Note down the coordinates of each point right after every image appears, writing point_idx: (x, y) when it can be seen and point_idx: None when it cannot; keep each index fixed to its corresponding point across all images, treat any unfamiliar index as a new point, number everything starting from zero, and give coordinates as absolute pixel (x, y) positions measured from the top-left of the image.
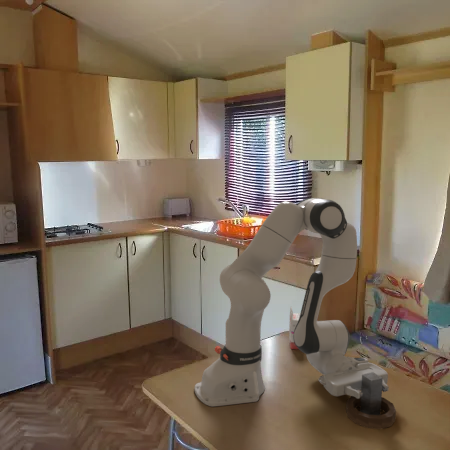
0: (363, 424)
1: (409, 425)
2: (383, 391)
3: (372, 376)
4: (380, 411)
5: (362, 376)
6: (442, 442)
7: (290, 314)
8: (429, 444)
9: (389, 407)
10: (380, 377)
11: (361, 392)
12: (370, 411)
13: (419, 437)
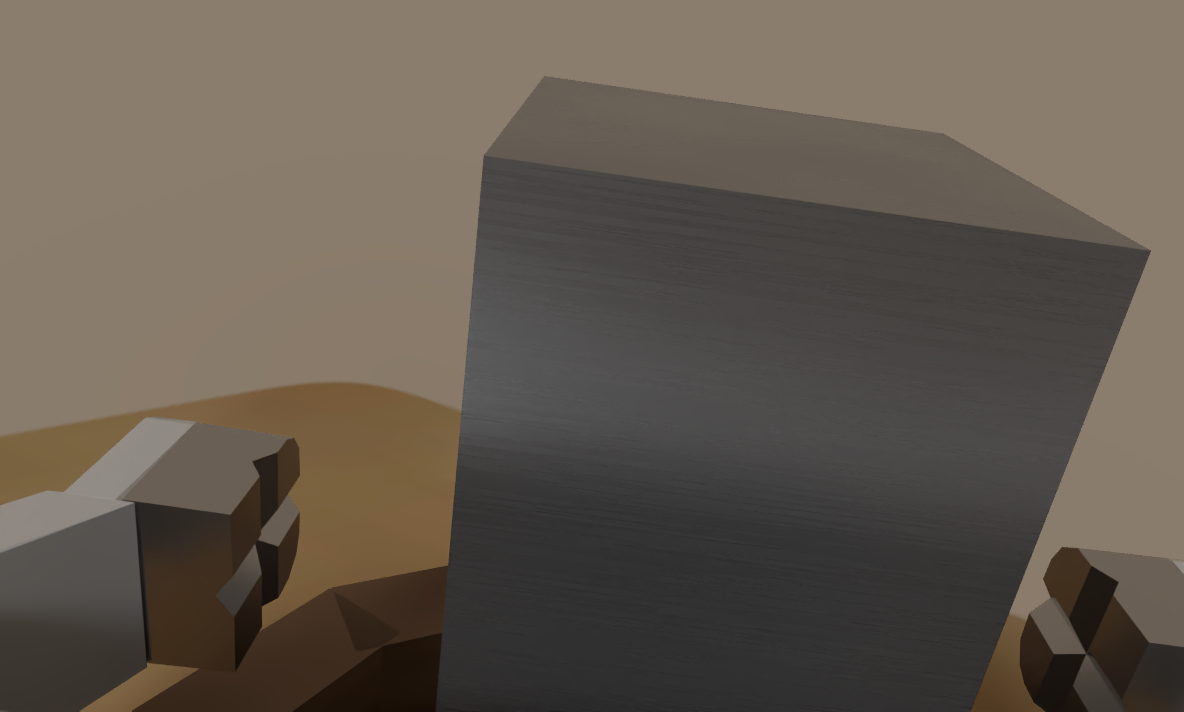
0: None
1: (298, 587)
2: (283, 576)
3: (769, 139)
4: None
5: (1106, 304)
6: (333, 387)
7: None
8: (452, 415)
9: (331, 674)
10: (574, 86)
11: (1091, 552)
12: None
13: (430, 472)
